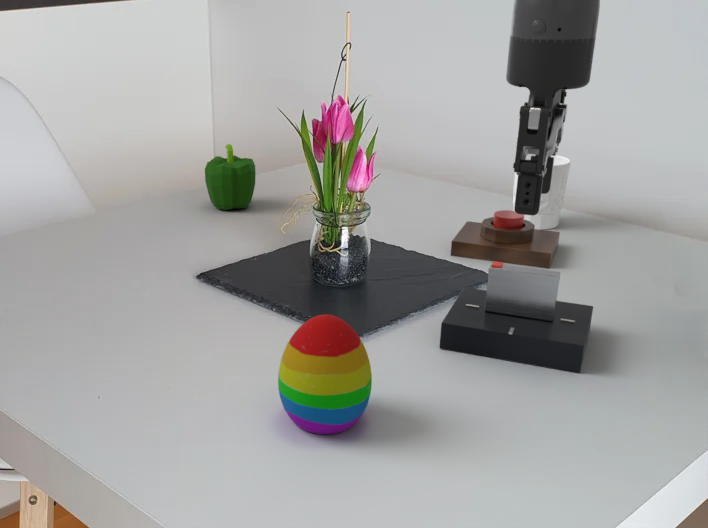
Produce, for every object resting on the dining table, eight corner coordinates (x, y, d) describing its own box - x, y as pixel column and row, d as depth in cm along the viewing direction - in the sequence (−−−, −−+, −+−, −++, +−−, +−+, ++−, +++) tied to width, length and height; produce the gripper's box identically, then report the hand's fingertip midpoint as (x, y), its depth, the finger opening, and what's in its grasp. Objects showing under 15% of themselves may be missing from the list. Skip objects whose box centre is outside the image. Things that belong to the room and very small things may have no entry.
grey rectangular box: (554, 316, 88) (560, 269, 86) (552, 321, 87) (559, 274, 85) (487, 305, 91) (491, 260, 89) (484, 311, 89) (489, 265, 87)
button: (524, 224, 116) (526, 212, 115) (520, 232, 113) (521, 219, 112) (495, 220, 118) (496, 208, 117) (490, 228, 114) (491, 216, 114)
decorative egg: (388, 419, 75) (394, 316, 71) (326, 454, 69) (329, 346, 66) (321, 388, 80) (323, 291, 76) (259, 418, 75) (258, 316, 71)
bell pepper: (249, 215, 134) (248, 153, 130) (200, 212, 135) (198, 151, 132) (261, 201, 141) (261, 142, 137) (214, 198, 143) (213, 140, 139)
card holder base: (589, 330, 92) (593, 304, 91) (579, 373, 82) (584, 344, 81) (461, 310, 97) (464, 285, 96) (439, 348, 88) (441, 321, 87)
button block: (558, 246, 118) (561, 219, 117) (549, 269, 110) (552, 240, 108) (465, 235, 123) (468, 209, 122) (450, 256, 115) (452, 228, 113)
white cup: (506, 228, 126) (514, 163, 122) (509, 214, 133) (516, 152, 129) (561, 233, 124) (571, 167, 120) (562, 218, 131) (570, 155, 127)
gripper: (589, 40, 70) (564, 227, 76) (601, 27, 82) (579, 189, 88) (497, 38, 73) (480, 217, 79) (522, 25, 85) (505, 182, 91)
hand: (532, 202), depth 83 cm, fingers open, 8 cm apart
